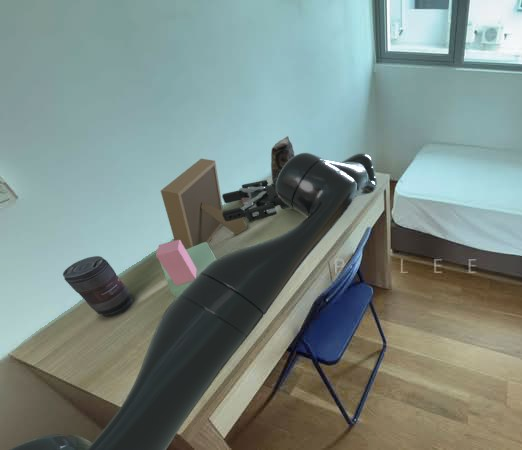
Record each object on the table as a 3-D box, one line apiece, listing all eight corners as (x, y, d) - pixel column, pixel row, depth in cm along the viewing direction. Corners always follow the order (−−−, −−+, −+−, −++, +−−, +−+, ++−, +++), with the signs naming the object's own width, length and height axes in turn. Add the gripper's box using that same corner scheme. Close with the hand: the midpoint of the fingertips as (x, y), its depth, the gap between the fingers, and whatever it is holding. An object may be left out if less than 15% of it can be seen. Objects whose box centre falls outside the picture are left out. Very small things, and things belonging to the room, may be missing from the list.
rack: (232, 288, 86) (222, 268, 82) (185, 312, 80) (170, 291, 75) (215, 261, 96) (205, 241, 92) (172, 280, 90) (159, 260, 85)
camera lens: (138, 291, 87) (107, 251, 78) (134, 311, 81) (100, 270, 72) (103, 303, 84) (66, 262, 75) (96, 324, 78) (55, 282, 69)
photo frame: (181, 261, 97) (139, 191, 83) (213, 222, 115) (183, 159, 100) (228, 258, 97) (194, 189, 83) (253, 220, 115) (229, 157, 101)
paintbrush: (238, 202, 126) (260, 220, 114) (236, 196, 125) (258, 214, 113) (247, 198, 128) (269, 216, 117) (245, 193, 127) (267, 210, 115)
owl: (299, 175, 145) (289, 133, 133) (308, 185, 136) (298, 142, 124) (272, 183, 140) (259, 140, 128) (279, 194, 131) (266, 149, 119)
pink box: (195, 279, 79) (178, 249, 73) (175, 285, 77) (155, 255, 71) (196, 268, 82) (179, 239, 76) (177, 274, 80) (158, 244, 75)
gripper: (288, 164, 77) (217, 179, 72) (299, 188, 66) (216, 208, 61) (295, 191, 81) (228, 207, 76) (306, 217, 71) (230, 238, 65)
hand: (223, 207), depth 68 cm, fingers open, 8 cm apart
